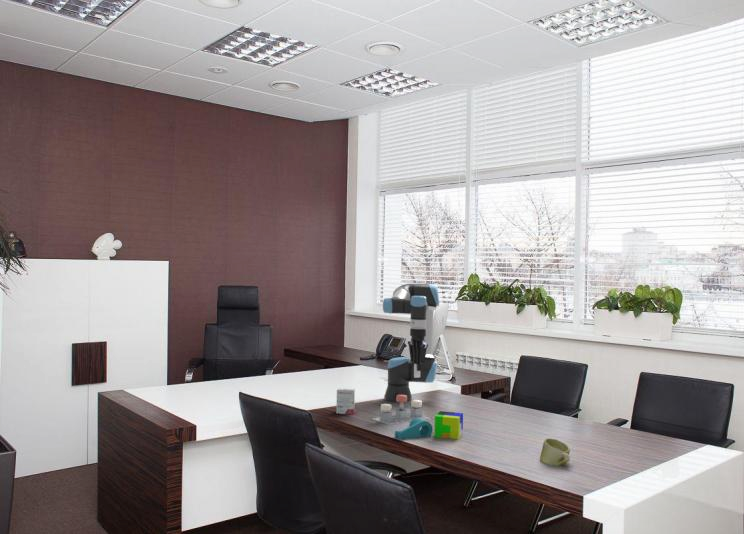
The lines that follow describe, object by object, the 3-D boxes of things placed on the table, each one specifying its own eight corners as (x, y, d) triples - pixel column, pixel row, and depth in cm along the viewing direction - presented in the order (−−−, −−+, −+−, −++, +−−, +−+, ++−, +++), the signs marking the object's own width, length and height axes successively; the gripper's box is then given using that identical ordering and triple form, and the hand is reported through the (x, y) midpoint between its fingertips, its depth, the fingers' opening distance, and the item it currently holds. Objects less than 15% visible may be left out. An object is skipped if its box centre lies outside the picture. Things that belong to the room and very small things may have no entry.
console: (412, 414, 304) (412, 404, 304) (429, 420, 293) (430, 409, 293) (372, 420, 290) (372, 409, 290) (388, 426, 279) (389, 415, 279)
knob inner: (417, 413, 300) (417, 399, 300) (423, 415, 296) (423, 401, 296) (409, 414, 297) (409, 400, 297) (415, 416, 293) (415, 402, 293)
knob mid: (402, 408, 295) (402, 394, 295) (408, 410, 291) (409, 396, 291) (394, 409, 292) (394, 395, 292) (400, 411, 288) (400, 397, 288)
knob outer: (387, 417, 290) (387, 403, 290) (393, 419, 286) (393, 405, 286) (378, 418, 287) (378, 404, 287) (384, 421, 283) (384, 406, 283)
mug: (531, 451, 231) (545, 430, 228) (553, 462, 233) (568, 441, 230) (540, 470, 219) (555, 449, 217) (564, 482, 221) (579, 461, 218)
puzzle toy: (462, 436, 266) (463, 413, 266) (458, 442, 256) (458, 418, 256) (439, 434, 269) (440, 411, 269) (434, 439, 259) (434, 416, 260)
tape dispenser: (432, 438, 261) (432, 420, 261) (400, 442, 255) (400, 423, 255) (424, 434, 267) (425, 416, 267) (393, 438, 261) (393, 419, 261)
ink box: (354, 412, 306) (355, 388, 306) (353, 414, 301) (354, 390, 301) (337, 411, 307) (338, 387, 307) (336, 413, 302) (336, 389, 302)
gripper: (403, 327, 300) (402, 375, 300) (420, 329, 289) (419, 380, 289) (415, 326, 304) (414, 374, 304) (432, 329, 294) (431, 378, 294)
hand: (417, 377), depth 297 cm, fingers closed
